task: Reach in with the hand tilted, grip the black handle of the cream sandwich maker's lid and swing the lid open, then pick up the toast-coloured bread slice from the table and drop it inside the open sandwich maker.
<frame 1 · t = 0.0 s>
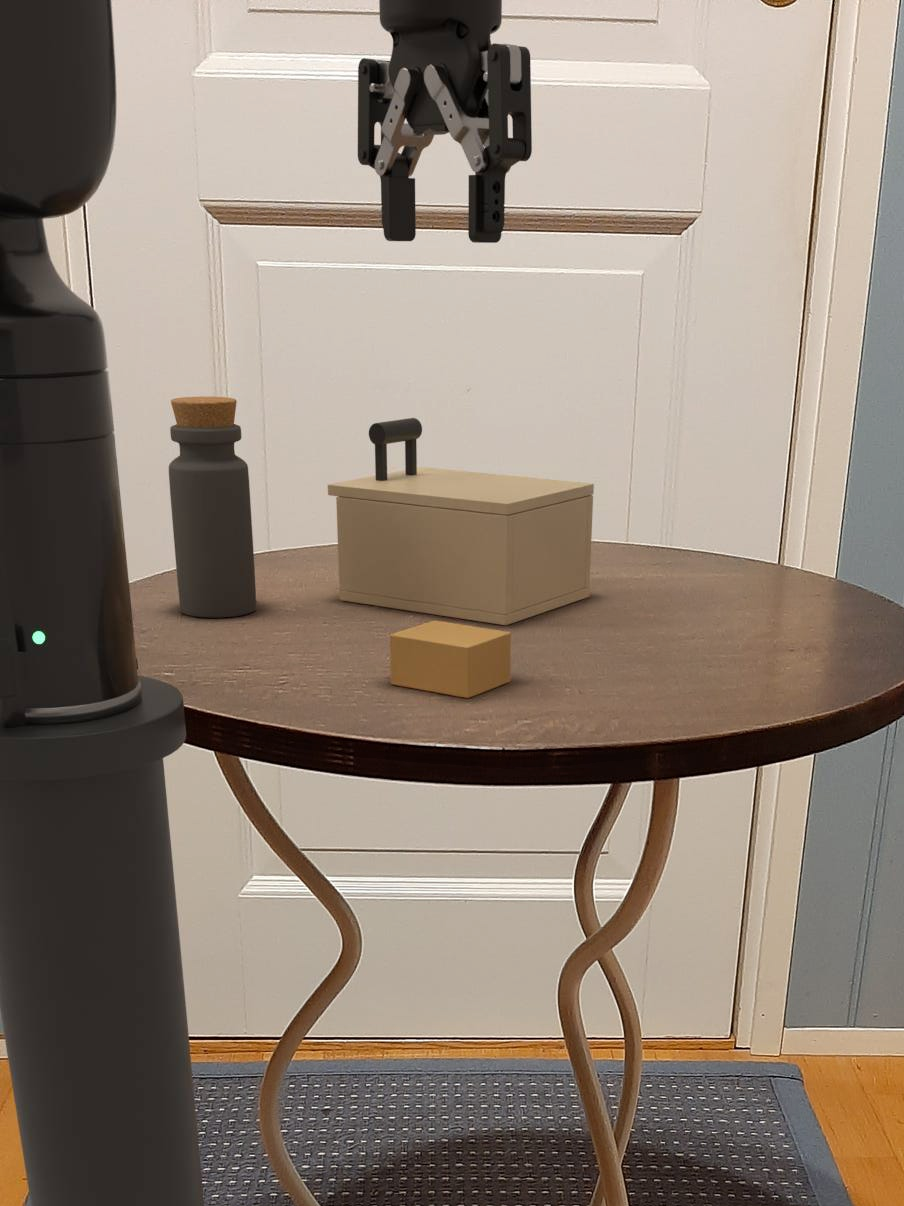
hand: (441, 241, 99), 25 cm above the table, tool pointing down, fingers open, 8 cm apart
sandwich maker: (465, 598, 121), on the table
bottle: (218, 612, 117), on the table
bread slice: (450, 683, 98), on the table
maker lid: (461, 460, 116), point 10 cm above the table, hinge at 0.0°
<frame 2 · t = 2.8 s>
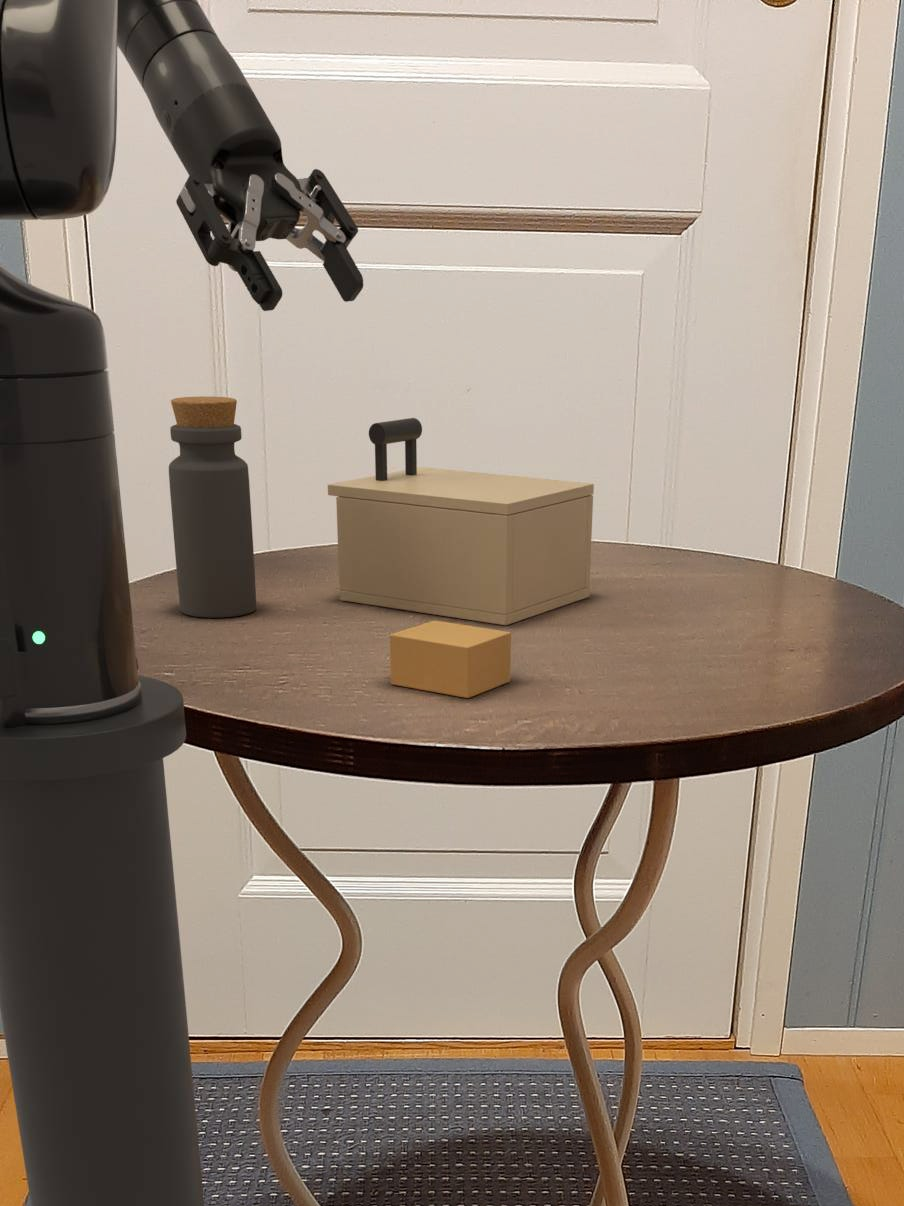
hand: (316, 299, 118), 21 cm above the table, tool tilted 40°, fingers open, 8 cm apart
nothing on the table moved.
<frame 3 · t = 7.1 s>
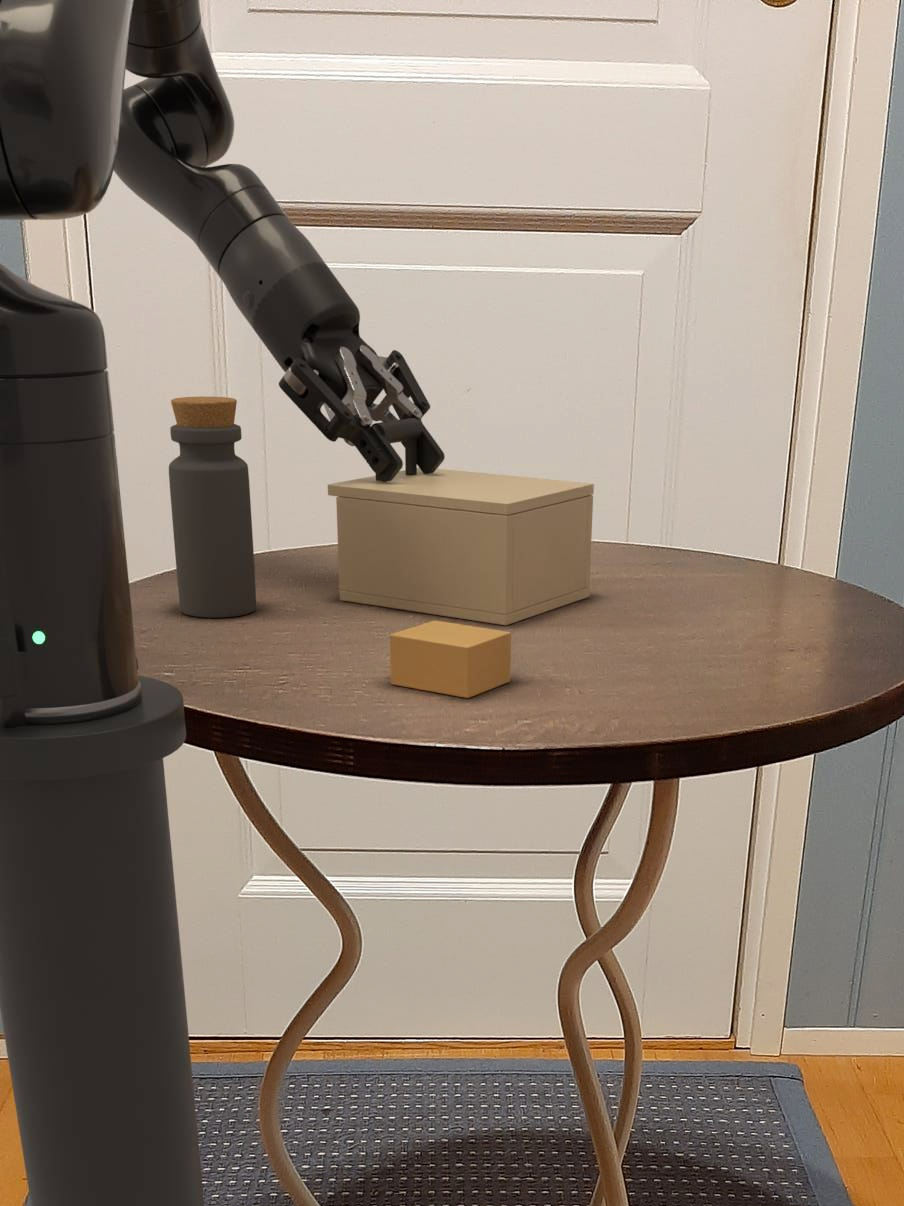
hand: (415, 469, 119), 9 cm above the table, tool tilted 45°, fingers closed on maker lid, 5 cm apart
maker lid: (461, 460, 116), point 10 cm above the table, hinge at 0.0°, touching gripper
everything else where it was.
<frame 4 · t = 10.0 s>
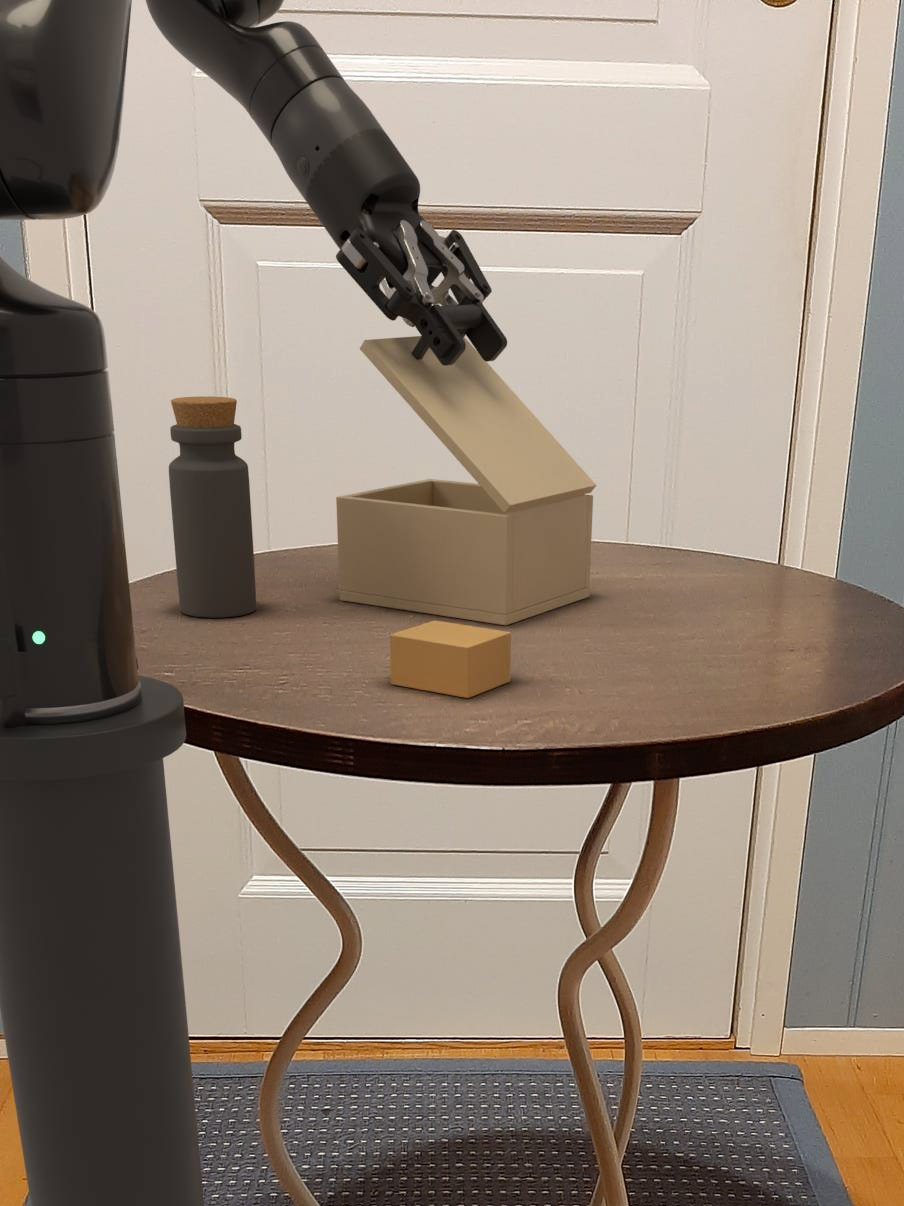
hand: (477, 354, 112), 18 cm above the table, tool tilted 45°, fingers closed on maker lid, 5 cm apart
maker lid: (497, 396, 113), point 15 cm above the table, hinge at 39.1°, touching gripper
everything else where it was.
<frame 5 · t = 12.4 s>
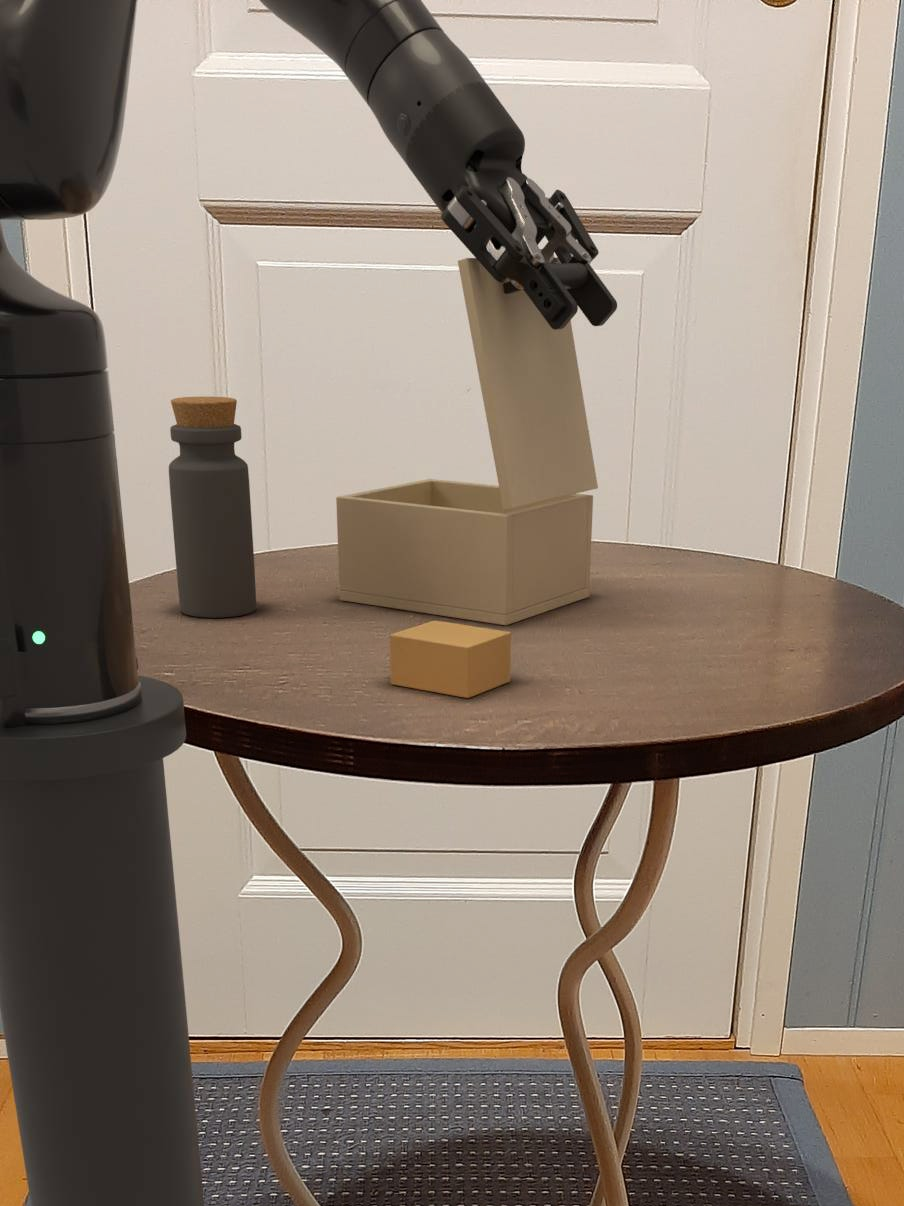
hand: (587, 318, 107), 21 cm above the table, tool tilted 45°, fingers closed on maker lid, 5 cm apart
maker lid: (556, 375, 109), point 17 cm above the table, hinge at 75.9°, touching gripper
everything else where it was.
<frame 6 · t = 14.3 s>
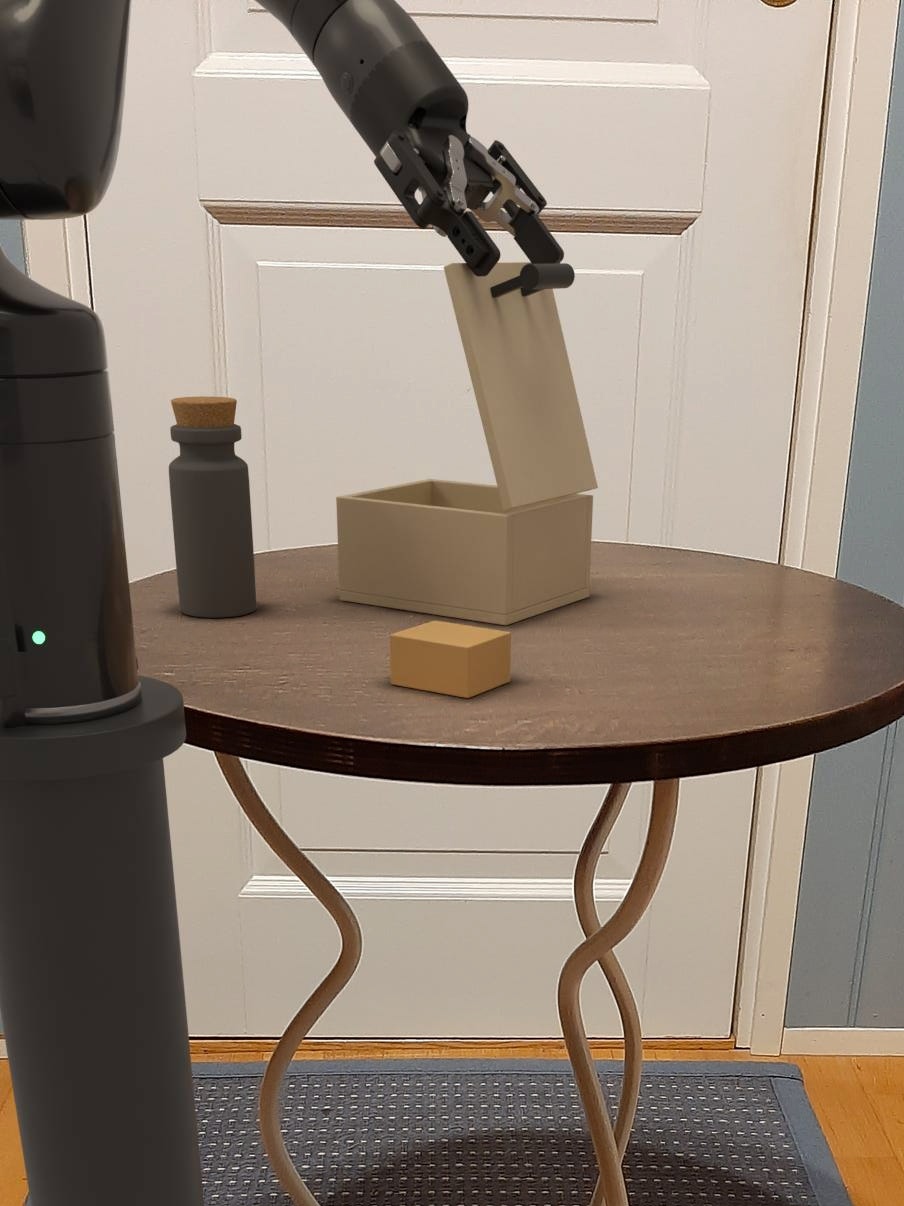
hand: (523, 267, 108), 24 cm above the table, tool tilted 45°, fingers open, 8 cm apart
maker lid: (549, 375, 110), point 17 cm above the table, hinge at 71.6°, touching gripper
everything else where it was.
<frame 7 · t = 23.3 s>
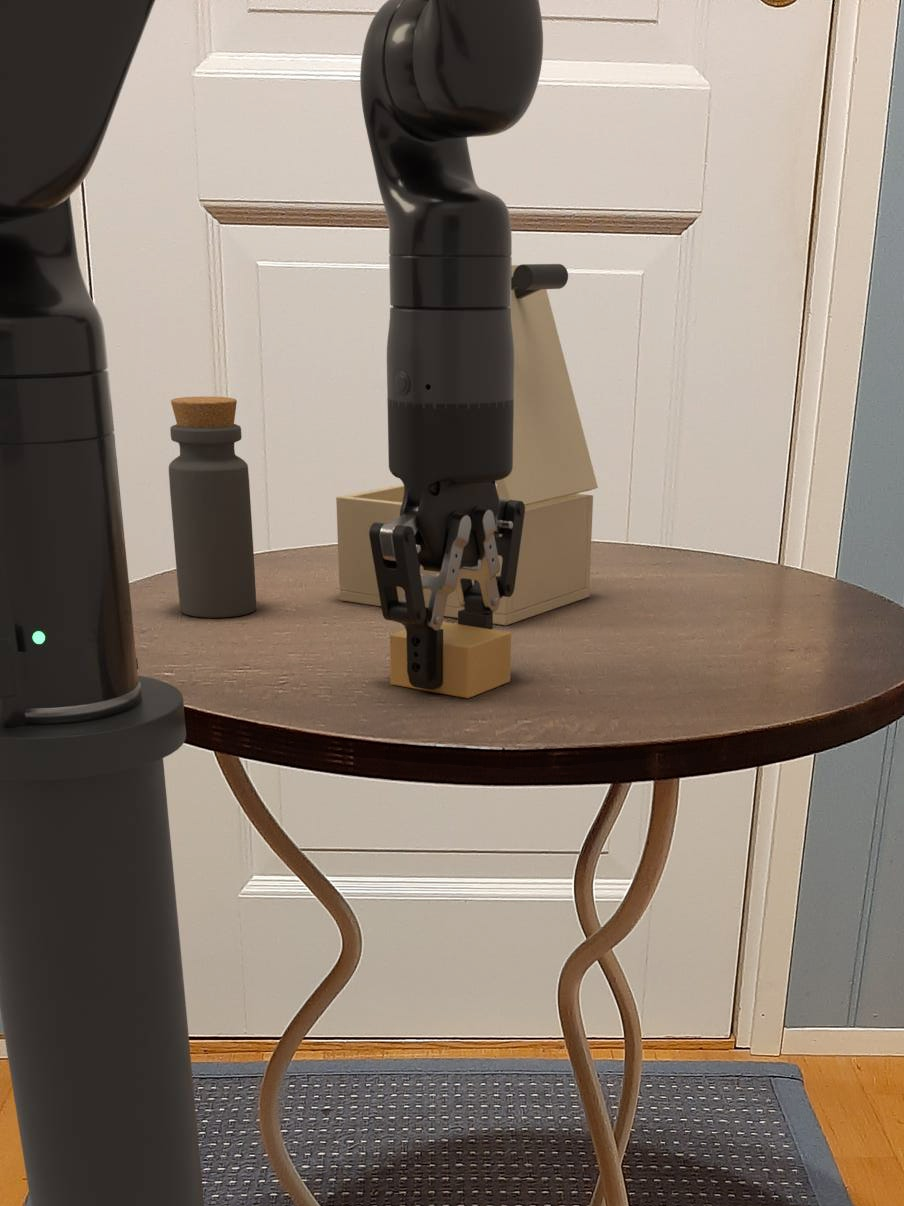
hand: (451, 676, 98), 0 cm above the table, tool pointing down, fingers closed on bread slice, 5 cm apart
bread slice: (450, 683, 98), on the table, touching gripper
maker lid: (545, 375, 110), point 17 cm above the table, hinge at 69.5°
everything else where it was.
when the fingers open (8 cm above the table, at t = 33.4 s): bread slice drops 7 cm, resting on sandwich maker.
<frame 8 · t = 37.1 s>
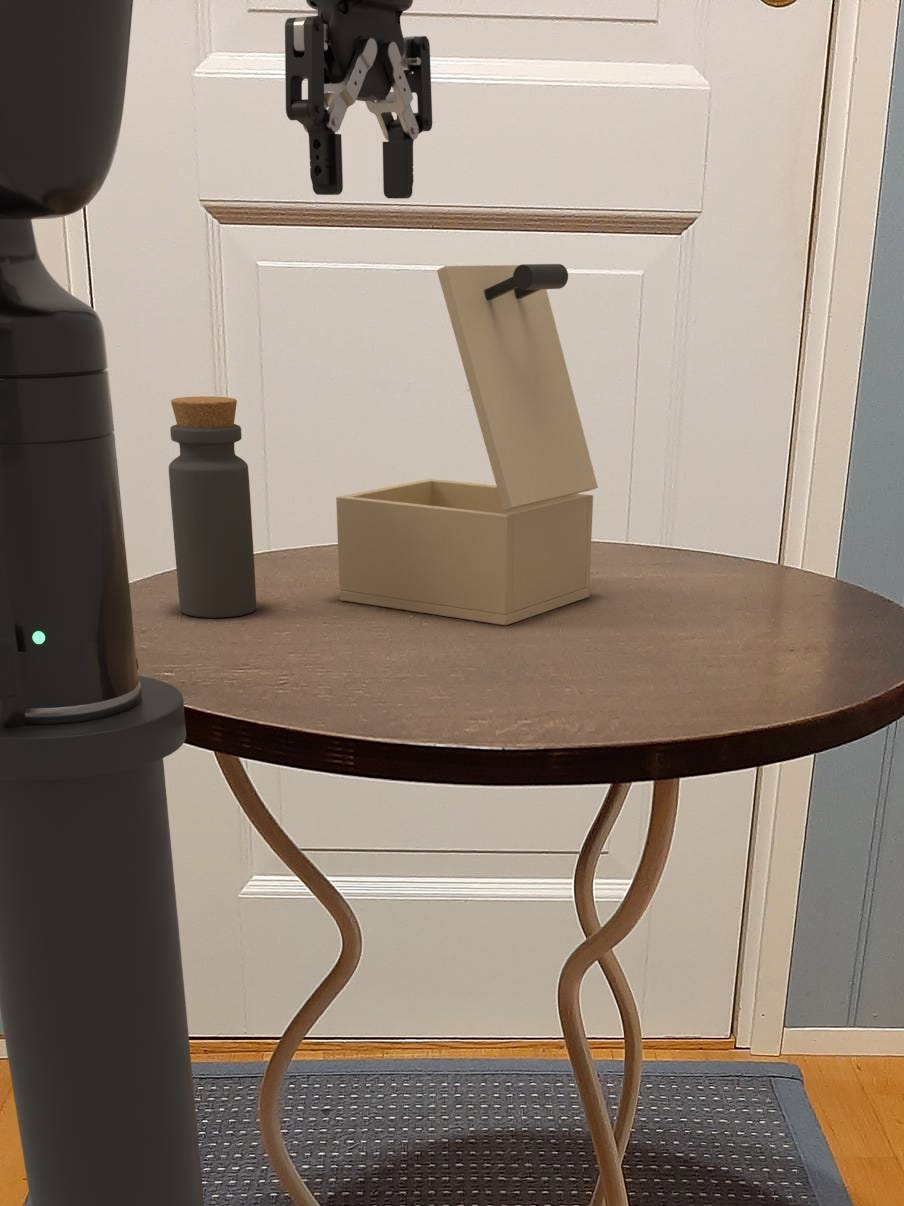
hand: (364, 196, 111), 28 cm above the table, tool pointing down, fingers open, 8 cm apart
bread slice: (434, 584, 122), point 1 cm above the table, touching sandwich maker
everything else where it was.
at the end: maker lid at +70° (first picture: +0°); bread slice inside the target area in the sandwich maker (2.9 cm from its centre), point 0.8 cm above the sandwich maker's base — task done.
